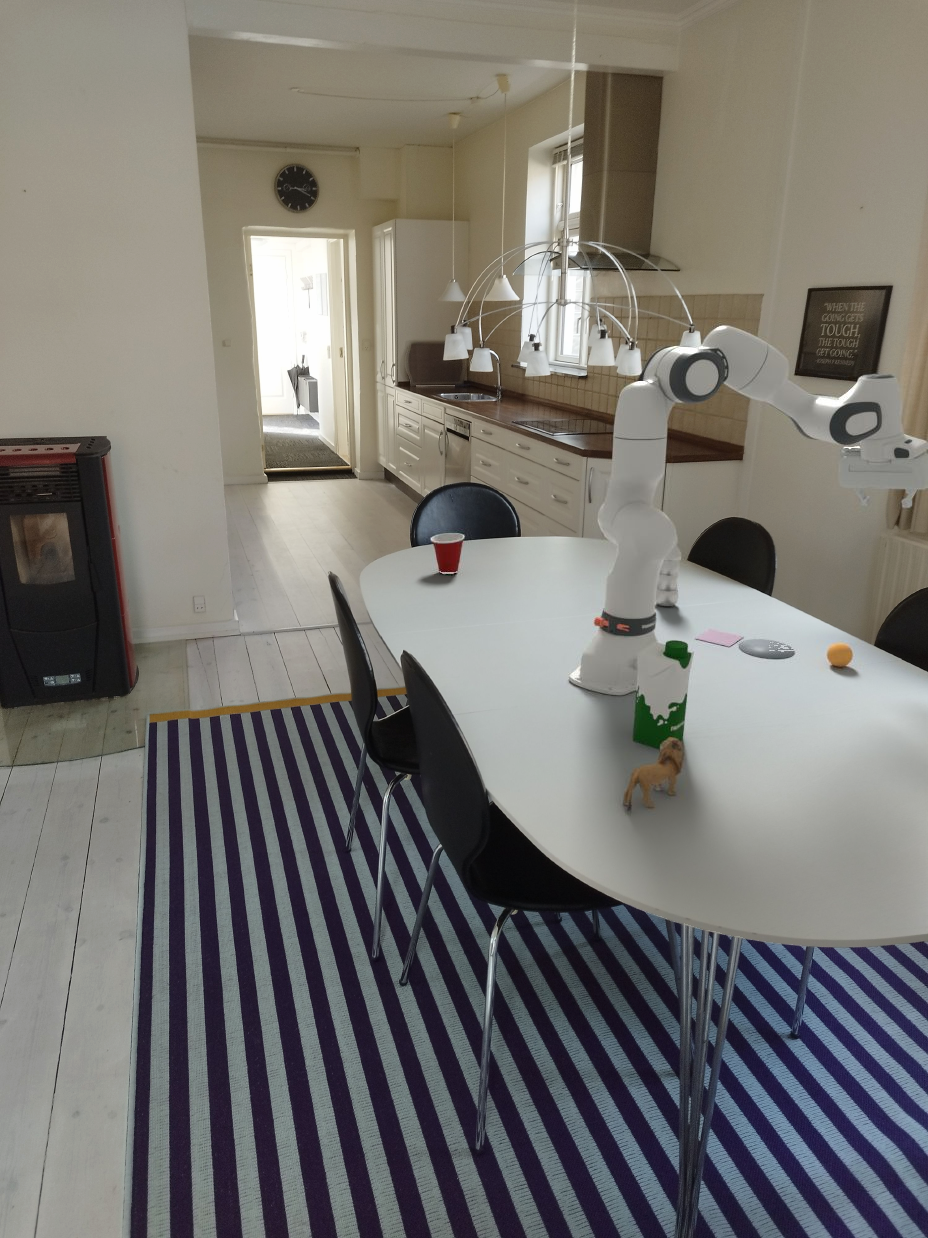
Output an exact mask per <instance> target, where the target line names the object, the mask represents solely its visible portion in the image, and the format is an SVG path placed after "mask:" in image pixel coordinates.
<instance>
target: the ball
mask: <svg viewBox="0 0 928 1238" xmlns="http://www.w3.org/2000/svg"><path fill="white" fill-rule="evenodd" d="M853 657H854V653H853V649H852V648H851V647H850V646H849V645H848V644H846V643H843V642H836V643H834V644H832V645H830V646H829V648H828V649H827V652H826V658H827V660H828V662H829V663H830V664H831V665H833V666H834V667H839V668H840V667H845V666H848V665H849V664H850V663H851V662H852V660H853Z"/></svg>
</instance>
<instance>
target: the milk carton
mask: <svg viewBox="0 0 928 1238" xmlns="http://www.w3.org/2000/svg"><path fill="white" fill-rule="evenodd" d="M694 653H695V652H694V650H693V651H692V650H690V649H689V644H688V643H687V642H686V641H682V640H676V639H675V640H667V641H666V642H665V644H663V643H660V642H659V643H654V644H652V645H650V646H649V647H647V648H645V649H643V650H642V651H640V652H638V653H637V662H638V674H637V688H636V690H635V703H634V717H633V728H632V729H633V730H632V731H633V732H632V741H634V742H637V743H640V744H643V745H646V746H649V747H652V748H655V749H658V750H660V745H661V744H662V743H663V742H664V741H665V740H667V739H668V738H669V737H672V738H677V739H678V740H679V741H680V742H681V741H682V740H683V739H684V732H685V722H686V711H687V703H688V701H687V700H688V690H689V680H690V672H691V668H692V663H693V658H694Z"/></svg>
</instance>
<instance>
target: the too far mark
mask: <svg viewBox="0 0 928 1238" xmlns="http://www.w3.org/2000/svg"><path fill="white" fill-rule="evenodd" d="M743 637H744V636H742V635H738V634H735V633H734V634H733V633H728V632H724V631H719V630H716V629H712V628H710V629H708V630H707V631H704V632H703V633H702V634H700V635H698V636H697V637H695V638H694V640H697V641H698V640H699V641H701V642H706V643H710V644H714V645H718V646H722V645H724V647H728V648H730V647H732V646H733V645H735V644H736V643H738V642H739V641H741V640H742V639H743ZM737 641H738V642H737ZM731 645H732V646H731Z"/></svg>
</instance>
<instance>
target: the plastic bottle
mask: <svg viewBox="0 0 928 1238" xmlns="http://www.w3.org/2000/svg"><path fill="white" fill-rule="evenodd" d="M678 543H679V536H678V535H677V539H676V543H675V545H674V547H673V549H672V550H671V552H670V553H669V554H668V555H666V556H665V558H664V561H663V564H662V567H661V570H660V573H659V576H658V581H657V589H656V600H655V605H656V604H657V605H658V606H662V607H674V606H675V605H676V604H677V603H678V600H679V590H678V589H679V588H678V576H679V575H678V574H679V571H680V565H681V560H682V552H681V550H680V549H679V547H678V545H677V544H678Z"/></svg>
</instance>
